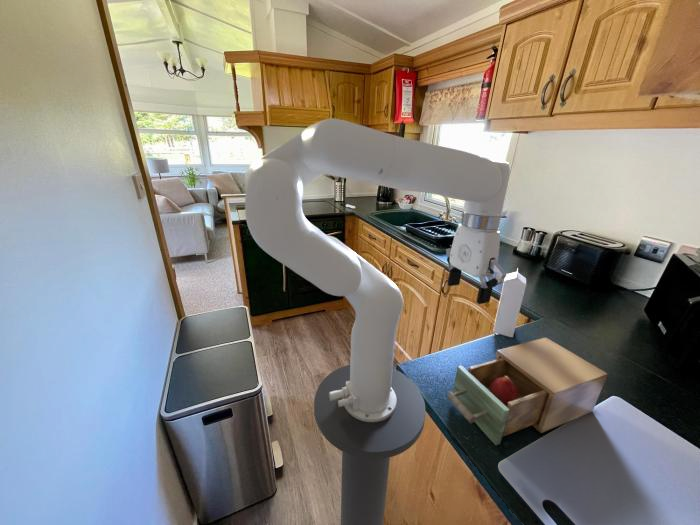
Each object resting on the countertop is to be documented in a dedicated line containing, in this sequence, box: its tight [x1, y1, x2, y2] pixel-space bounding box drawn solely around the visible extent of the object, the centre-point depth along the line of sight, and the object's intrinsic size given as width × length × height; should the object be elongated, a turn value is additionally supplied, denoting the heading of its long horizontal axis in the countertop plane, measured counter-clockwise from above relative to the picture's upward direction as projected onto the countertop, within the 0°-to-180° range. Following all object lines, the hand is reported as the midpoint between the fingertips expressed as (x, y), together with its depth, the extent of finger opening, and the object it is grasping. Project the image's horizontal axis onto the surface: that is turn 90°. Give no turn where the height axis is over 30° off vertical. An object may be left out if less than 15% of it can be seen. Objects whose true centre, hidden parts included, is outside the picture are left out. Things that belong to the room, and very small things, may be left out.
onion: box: [489, 376, 519, 407], centre depth 63 cm, size 6×6×8 cm
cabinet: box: [494, 337, 609, 434], centre depth 68 cm, size 17×14×11 cm
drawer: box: [446, 358, 549, 446], centre depth 63 cm, size 20×13×9 cm, turn 111°
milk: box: [492, 267, 527, 338], centre depth 93 cm, size 6×6×22 cm
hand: (467, 293), depth 68 cm, fingers open, 9 cm apart
